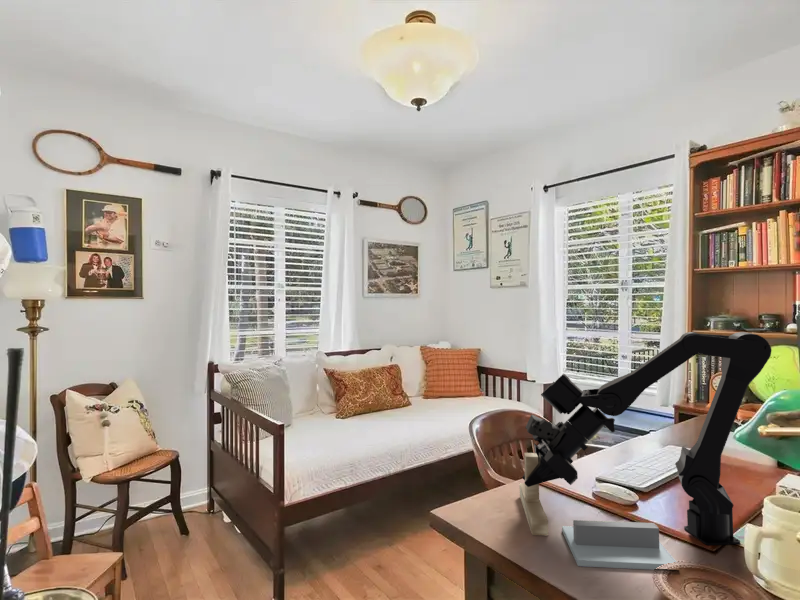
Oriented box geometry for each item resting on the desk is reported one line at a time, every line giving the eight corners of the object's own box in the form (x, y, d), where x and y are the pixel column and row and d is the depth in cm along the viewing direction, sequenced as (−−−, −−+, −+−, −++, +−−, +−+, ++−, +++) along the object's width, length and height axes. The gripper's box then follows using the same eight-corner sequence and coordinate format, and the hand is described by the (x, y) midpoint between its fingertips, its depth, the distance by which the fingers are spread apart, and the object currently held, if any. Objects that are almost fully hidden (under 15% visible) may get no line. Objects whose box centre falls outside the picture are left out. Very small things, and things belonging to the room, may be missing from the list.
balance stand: (649, 534, 87) (648, 510, 87) (679, 570, 75) (678, 543, 75) (562, 531, 89) (561, 508, 89) (578, 566, 77) (577, 539, 77)
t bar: (533, 496, 105) (531, 442, 105) (548, 535, 87) (546, 470, 88) (519, 496, 106) (518, 442, 106) (532, 535, 88) (530, 469, 88)
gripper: (541, 394, 106) (493, 441, 107) (558, 413, 87) (500, 470, 88) (577, 429, 104) (529, 476, 106) (602, 456, 86) (543, 512, 87)
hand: (525, 482), depth 97 cm, fingers closed on t bar, 2 cm apart
